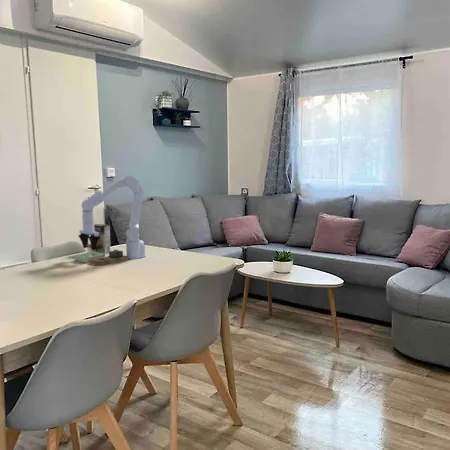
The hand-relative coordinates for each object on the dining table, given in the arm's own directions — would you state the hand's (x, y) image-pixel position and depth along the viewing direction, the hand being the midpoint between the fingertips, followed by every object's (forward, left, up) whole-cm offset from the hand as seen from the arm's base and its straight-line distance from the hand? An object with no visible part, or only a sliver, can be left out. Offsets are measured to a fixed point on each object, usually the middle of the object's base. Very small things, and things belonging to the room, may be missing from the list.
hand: (89, 248), depth 245 cm
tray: (0, 0, -6) cm, 6 cm away
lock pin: (0, 0, -6) cm, 6 cm away
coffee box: (-15, -12, -6) cm, 20 cm away
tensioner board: (-4, +11, -6) cm, 13 cm away
